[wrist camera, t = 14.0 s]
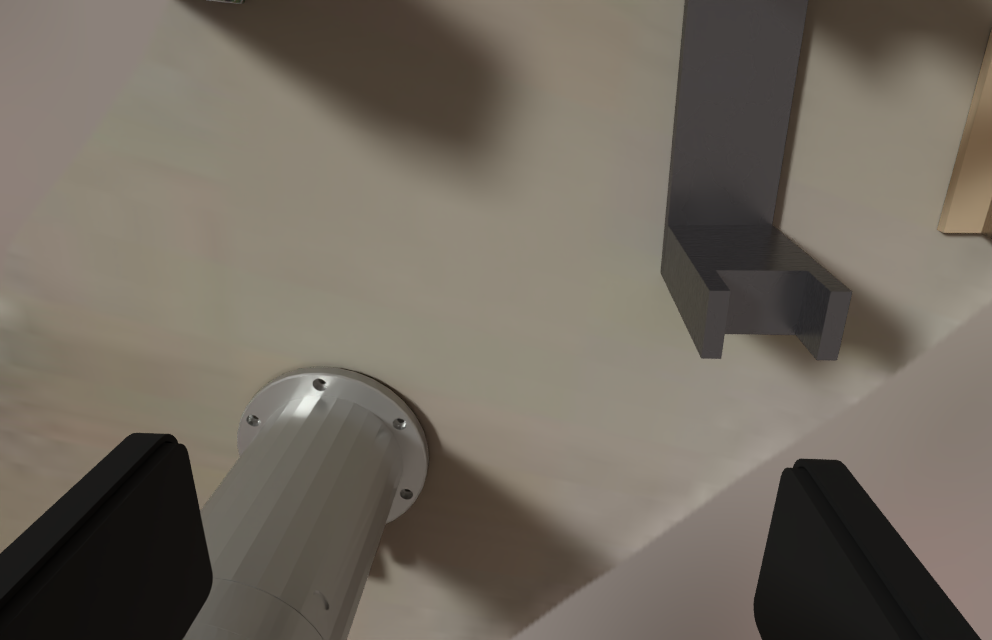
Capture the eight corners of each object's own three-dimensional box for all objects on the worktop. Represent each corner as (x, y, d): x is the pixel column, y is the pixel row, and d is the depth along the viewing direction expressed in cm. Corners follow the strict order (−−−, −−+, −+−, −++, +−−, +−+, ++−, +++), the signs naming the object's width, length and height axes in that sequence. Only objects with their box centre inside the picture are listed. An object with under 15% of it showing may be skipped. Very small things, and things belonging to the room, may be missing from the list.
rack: (759, 273, 35) (836, 360, 26) (660, 272, 35) (701, 358, 26) (824, -140, 27) (970, -234, 18) (696, -134, 28) (773, -223, 18)
